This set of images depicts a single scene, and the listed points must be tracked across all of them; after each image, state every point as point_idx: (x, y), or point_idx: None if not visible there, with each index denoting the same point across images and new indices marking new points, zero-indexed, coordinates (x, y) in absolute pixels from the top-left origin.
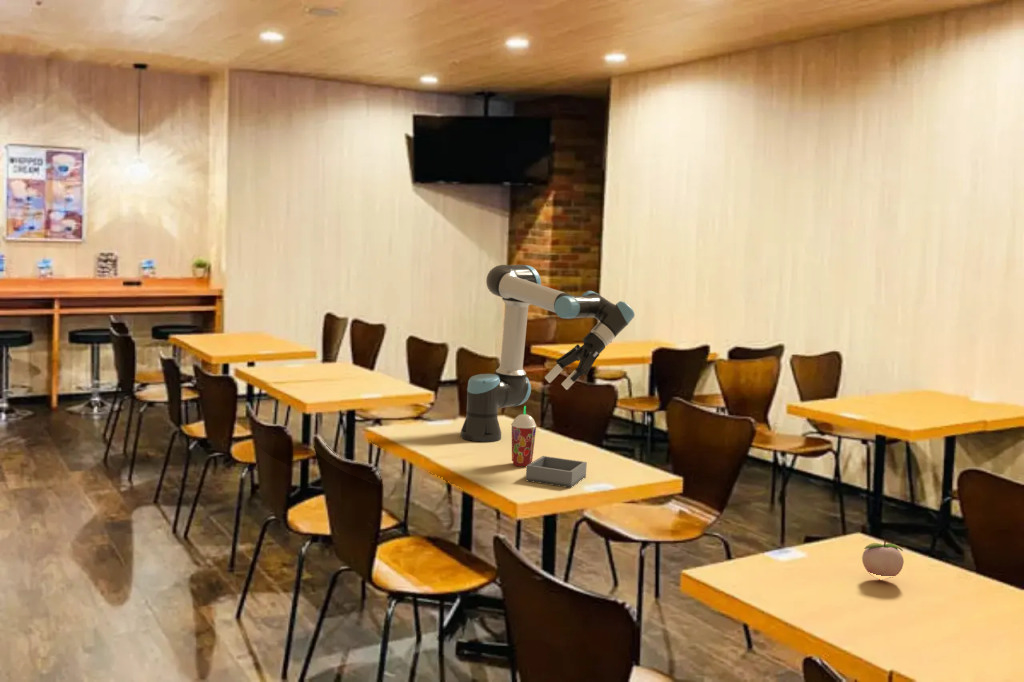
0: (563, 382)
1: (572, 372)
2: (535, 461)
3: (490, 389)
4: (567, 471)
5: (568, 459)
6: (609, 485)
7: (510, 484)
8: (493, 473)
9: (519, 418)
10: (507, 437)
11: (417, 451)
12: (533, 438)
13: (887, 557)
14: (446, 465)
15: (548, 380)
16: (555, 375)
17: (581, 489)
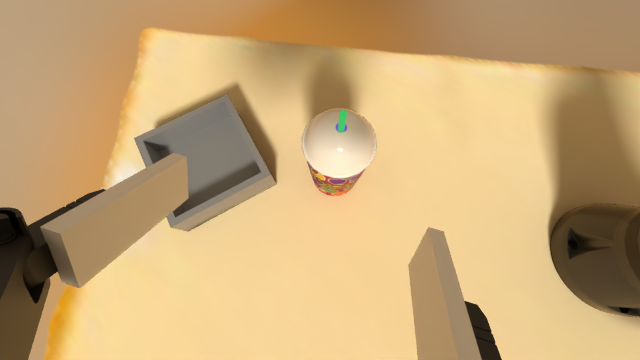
0: (167, 160)
1: (87, 212)
2: (241, 128)
3: None
4: (144, 133)
5: (213, 204)
6: None
7: (235, 77)
8: (308, 93)
9: (334, 110)
10: (593, 329)
11: (507, 65)
12: (308, 165)
13: None
14: (392, 56)
15: (416, 253)
16: (419, 312)
17: (136, 161)
